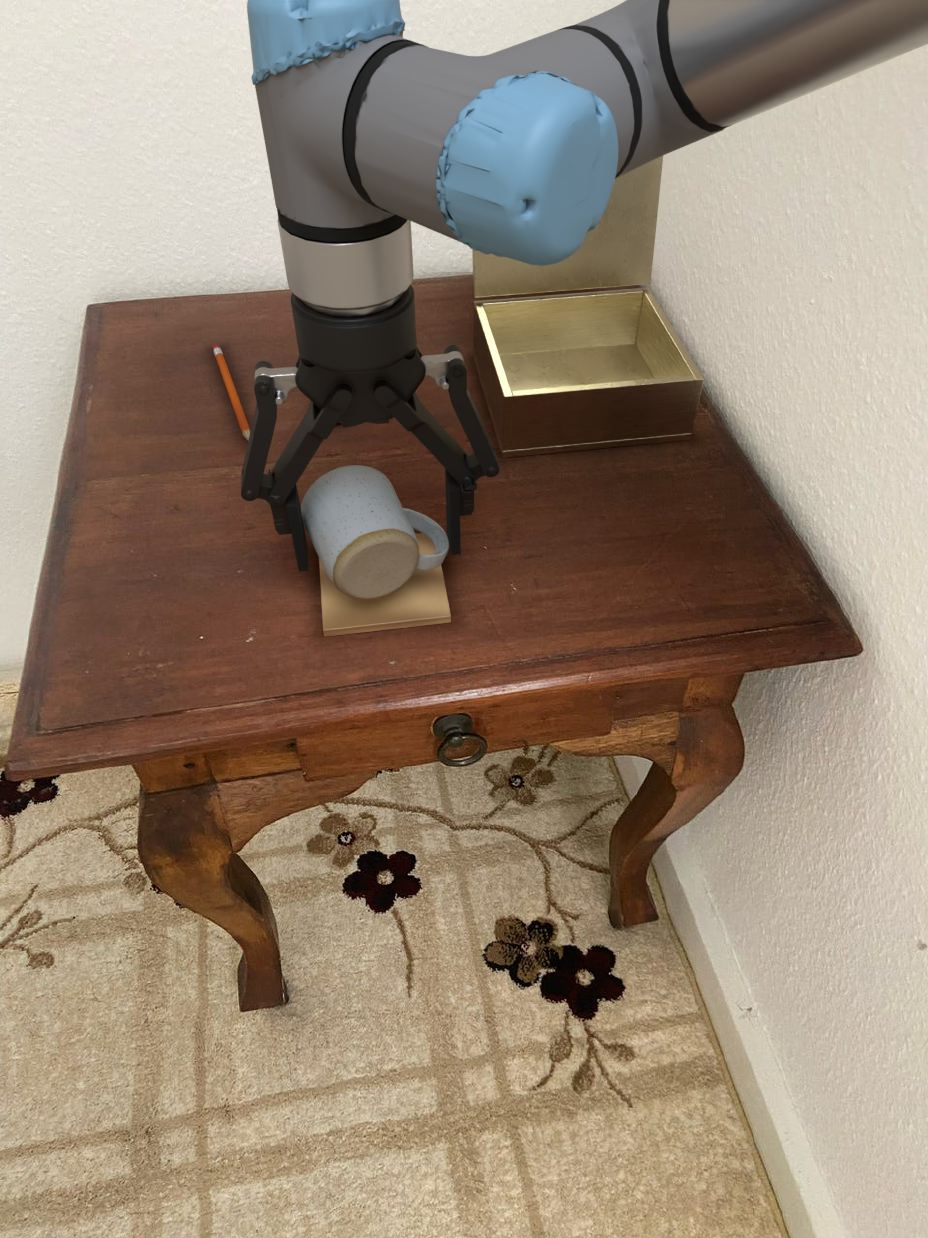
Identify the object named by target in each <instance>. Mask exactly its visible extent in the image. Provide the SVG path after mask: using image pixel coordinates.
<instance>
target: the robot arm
mask: <svg viewBox="0 0 928 1238" xmlns="http://www.w3.org/2000/svg"><path fill="white" fill-rule="evenodd" d="M246 3H247V4H246V14H247V22H248V31H249V41H250V42H249V43H250V50H251V60H252V69H253V71H252V74H251V82H252V85H253V86H254V89H255V94H256V100H257V105H258V112H259V118H260V123H261V129H262V134H263V141H264V146H265V152H266V157H267V164H268V169H269V174H270V181H271V186H272V191H273V198H274V199H273V200H274V204H275V207H276V212H277V226H278V233H279V239H280V245H281V251H282V258H283V262H284V270H285V275H286V281H287V282H286V283H287V286H288V288H289V290H290V291H291V295H290V306H291V312H292V318H293V324H294V330H295V338H296V343H297V349H298V359H297V361H296V363H295V366H285V367H273V365H272V364H271V362H270V361H266V360H260V361H258V362H256V364H255V365H254V375H253V376H254V379H253V380H254V382H253V383H254V385H253V391H254V396H255V401H256V403H255V408H254V409H255V410H254V414H253V418H252V422H251V427H250V430H251V431H250V436H249V441H248V440H247V444H246V445H247V446H246V451H245V455H244V460H243V464H242V468H241V479H240V497H241V498H242V500H244V501H246V502H253V501H256V500H257V499H260V500H264V501H266V502H267V503H268V504H269V507H270V510H271V515H272V520H273V525H274V529H275V531H276V532H277V534H278V536H283V535H291V539H292V543H293V548H294V555H295V559H296V563H297V569H298V572H300V573H301V572H309V570H310V567H309V565H310V564H309V546H308V539H307V535H306V534H307V533H306V529H305V527H304V523H303V518H302V513H301V502H300V498H299V492H298V486H297V483H298V481H299V480H300V479H301V477H302V475H303V473H305V471H306V469H307V467H308V466H309V464H310V463H311V461H312V459H313V458H314V456H315V455H316V454H317V451H318V449H319V448H320V447H321V445H322V443H323V441H324V440H327V439H328V438H329V437H330V435H331V434H332V432H333V430H334V429H335V427H336V426H337V424H342V427H343V428H349V427H356V426H360V425H362V424H366V423H368V424H376V425H382V424H389V423H390V420H392V419H395V420H396V422H398V423H399V424H400V425H401V426H402V428H404V430H405V431H406V432H408V433H409V432H410V433H411V434H412V435H413V436H414V437H415V438H416V439H417V440H418V441H419V442H420V443H421V444H422V445H423V447H424V448H425V449H426V450H427V451H428V452H429V453H430V454H431V455H432V456H433V457H434V458H435V459H436V461H438V463H440V465H441V466H442V467H443V468H444V477H445V478H444V481H445V484H444V485H445V519H446V520H445V521H446V535H447V537H448V541H449V552H450V556H461V555H462V550H461V549H462V546H461V545H462V543H461V542H462V541H461V539H462V537H461V534H462V533H461V517H467V516H473V513H474V511H475V492H476V491H477V488H478V484H477V481H478V480H479V479H481V478H484V477H487V478H491V479H492V478H495V477H497V476H498V475H499V474H500V472H501V468H500V465H499V462H498V461H499V460H498V457H497V454H496V451H495V450H496V449H495V447H494V445H493V442H492V440H491V438H490V436H489V434H488V431H487V428H486V427H485V424H484V422H483V420H482V418H481V415H480V413H479V411H478V408H477V406H476V404H475V402H474V399H473V397H472V395H471V392H470V390H469V388H468V381H467V380H468V372H467V371H468V370H467V367H466V364H465V359H464V356H463V353H462V349H461V348H460V347H459V346H458V345H457V344H456V345H455V344H450V345H448V346H447V347H446V348H445V349H444V350H443V353H439V354H426V355H423V354H422V352H421V351H420V349H419V348H418V341H417V320H416V299H415V289H414V288H413V286H412V283H413V280H414V277H415V275H414V273H415V272H414V255H413V240H412V239H413V238H412V237H413V236H412V223H415V224H417V225H419V226H422V227H423V228H427V229H429V230H430V231H433V232H436V233H438V234H440V235H443V236H445V237H447V238H450V239H452V240H455V241H457V242H459V243H462V244H463V245H466V246H468V247H469V248H470V249H471V250H472V249H473V250H475V251H477V250H478V251H480V252H482V253H484V254H486V255H488V254H491V253H492V254H494V255H496V256H498V257H507V258H511V259H514V260H518V261H521V262H524V263H527V264H530V265H537V266H547V265H552V264H556V263H559V262H561V261H563V260H565V259H567V258H568V257H570V256H571V255H573V254H574V253H575V252H576V251H577V250H579V248H580V247H581V246H582V244H583V241H584V238H585V235H586V233H587V231H590V230H594V229H595V228H596V226H597V224H598V223H599V221H600V219H601V218H602V215H603V213H604V211H605V209H606V206H607V204H608V201H609V198H610V195H611V193H612V190H613V185H614V181H615V179H616V178H617V177H620V176H622V175H624V174H626V173H628V172H630V171H632V170H634V169H636V168H638V167H640V166H642V165H644V164H646V163H648V162H650V161H652V160H654V159H656V158H659V157H661V156H663V157H664V156H665V155H668V154H670V153H672V152H674V151H677V150H680V149H682V148H684V147H686V146H688V145H691V144H693V143H696V142H699V141H701V140H703V139H707V138H709V137H711V136H713V135H716V134H718V133H720V132H723V131H724V130H725V129H727V128H730V127H731V126H733V125H736V124H739V123H740V122H741V123H742V122H743V121H745V120H748V119H750V118H754V117H755V116H758V115H761V114H763V113H765V112H767V111H770V110H772V109H774V108H777V107H779V106H782V105H784V104H787V103H789V102H791V101H794V100H795V99H799V98H801V97H803V96H806V95H808V94H811V93H813V92H816V91H818V90H821V89H823V88H825V87H827V86H830V85H833V84H835V83H837V82H840V81H842V80H844V79H846V78H849V77H852V76H854V75H857V74H859V73H861V72H864V71H866V70H868V69H871V68H873V67H876V66H878V65H881V64H883V63H885V62H887V61H890V60H893V59H895V58H897V57H900V56H903V55H905V54H907V53H909V52H912V51H914V50H916V49H919V48H921V47H924V46H926V45H928V0H624V1H623V2H621V3H619V4H618V5H616V6H613V7H611V8H610V9H608V10H606V11H603V12H601V13H598V14H597V15H594V16H592V17H590V18H587V19H584V20H583V21H580V22H577V23H575V24H572V25H567V26H564V27H561V28H559V29H556V30H553V31H551V32H548V33H545V34H541V35H539V36H537V37H533V38H531V39H529V40H525V41H522V42H520V43H517V44H514V45H512V46H509V47H506V48H503V49H501V50H498V51H495V52H492V53H490V54H486V55H485V54H484V55H466V54H460V53H456V52H451V51H447V50H443V49H438V48H434V47H429V46H427V45H425V44H422V43H420V42H415V41H414V40H411V39H407V38H404V32H405V28H406V22H405V20H404V18H403V16H402V11H401V1H400V0H247V2H246ZM426 377H429V378H432V379H433V381H434V382H435V385H436V386H437V387H438V388H439V389H441V390H442V391H448V397H449V399H450V403H451V405H452V408H453V410H454V412H455V414H456V416H457V418H458V422H459V424H460V425H461V427H462V429H463V431H464V434H465V436H466V438H467V440H468V443H469V445H470V447H471V449H472V451H473V453H471V454H468V453H467V452H466V451H465V449H463V448H462V446H461V445H460V444H459V443H458V442H457V440H456V439H454V437H453V436H452V435H451V434H450V433H449V432H448V431H447V429H445V427H444V426H443V425H442V424H441V423H440V421H438V419H437V418H436V417H435V416H434V415H433V413H431V411H430V410H429V409H428V408H427V407H426V406H425V405H424V404H423V402H422V401H421V400H420V397H419V396H418V394H417V392H416V391H417V390H418V389H419V387H420V385H422V383H423V381H424V380H425V378H426ZM296 388H297V389H298V390H299V392H300V393H302V395H304V396H305V397H306V398H307V399H308V400H309V403H308V406H307V409H306V412H305V414H304V416H303V417H302V419H301V421H300V422H299V424H298V425H297V427H296V429H295V431H294V432H293V434H292V436H291V437H290V439H289V440H288V442H287V444H286V445H285V448H284V449H283V451H282V452H281V454H280V456H279V457H278V459H277V461H276V463H275V464H274V466H273V468H272V470H271V469H270V468H268V471H267V473H265V469H266V465H267V461H268V457H269V454H270V449H271V445H272V440H273V436H274V432H275V428H276V424H277V418H278V406H282V405H283V404H284V403H286V401H288V399H289V394H290V392H291V391H292V390H293V389H296Z"/></svg>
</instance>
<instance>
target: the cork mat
mask: <svg viewBox="0 0 928 1238" xmlns="http://www.w3.org/2000/svg"><path fill="white" fill-rule="evenodd" d="M415 535H416V538H417V541H418V545H419V553H420V554H427V555H432V554H436V549H435V546H434V544H433V542H432V540H431V539H430V538H429V537H428V536H427V535H425V534H423V533H422V532H419V533H415ZM318 561H319V562H318V565H319V581H320V583H319V584H320V599H321V601H320V602H321V619H322V633H323V636H324V637H325V638H326V637H327V638H328V637H335V636H345V635H353V634H361V633H370V632H380V631H389V630H397V629H406V628H415V627H423V626H433V625H442V624H450V623H452V615H451V614H452V613H451V608H450V604H449V603H450V602H449V598H448V592H447V587H446V582H445V578H444V577H445V576H444V571H443V567H442V564H441V565H440V566H438V567H437V568H435V569H434V568H433V569H429V570H417V569H416V570H415V572H414V574H413V575H412V577H411V578H410V579H409V580H408V581H407V582H406V583H405V584H404V585H403V586H402V587H400V588H399V589H397V590H396V591H394V592H393V593H390V594H388V595H386V596H383V597H379V598H375V599H366V600H365V599H355V598H352V597H349V596H347V595H345V594H343V593H342V592H341V591H339V590H338V589H337V587H336V586H335V585H334V584H333V583H332V581H331V580H330V579H329V577H328V575H327V573H326V571H325V569H324V567H323V565H322V562H321V560H320V558H319V557H318Z"/></svg>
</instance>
